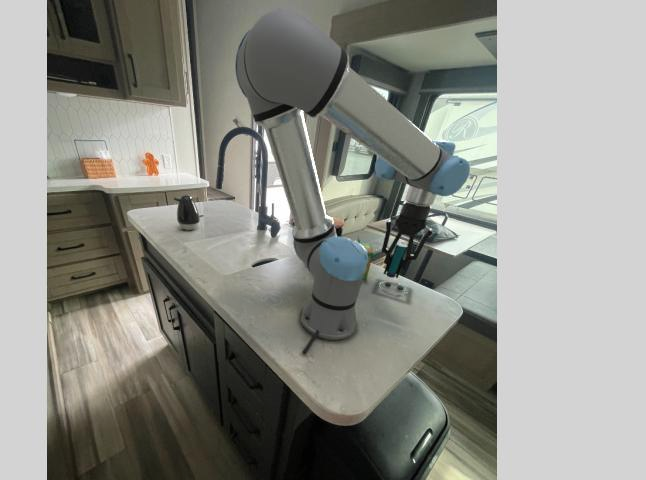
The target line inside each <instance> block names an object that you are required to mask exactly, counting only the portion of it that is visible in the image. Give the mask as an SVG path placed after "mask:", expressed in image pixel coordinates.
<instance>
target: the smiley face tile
mask: <svg viewBox="0 0 646 480" xmlns="http://www.w3.org/2000/svg"><path fill="white" fill-rule="evenodd" d="M386 282H389V283H393V284H396V285H398V286H402V287H404V290H406V293H404V294H402V295H401V294H392V293H389V292H387V291H386V290H385V289H383V288H382V286H381V285H382V284H385V283H386ZM378 287H379V288H380V290H381V291H382V292H384V293H386V294H387V295H391V296H394V297H405V296H407V295H408V293H409V290H408V288H407V287H406V286H404V285H402V284H400V283H399V282H396V281H391V280H389V281H388V280H384V281H381V282H380V283H379V284H378Z"/></svg>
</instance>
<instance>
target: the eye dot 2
mask: <svg viewBox="0 0 646 480" xmlns="http://www.w3.org/2000/svg"><path fill="white" fill-rule="evenodd" d="M404 287H405V286H404ZM404 287H403V285H402V286H401V285H397V286H396V289H397V290H399V291H404V290H405V288H404Z"/></svg>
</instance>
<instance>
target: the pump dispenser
mask: <svg viewBox="0 0 646 480" xmlns="http://www.w3.org/2000/svg"><path fill="white" fill-rule="evenodd" d="M173 201H176V202H178V204H177V209H176V221H177V223H178V225H179V227H181V228H182V229H183V230H186V231H192V230H195V229H197V228H198V227H199V224H200V221H201V220H200V219H201V218H200V214H199V210H198V207H197V205H196V203H195V201H194V199H193V198H192V196H190V195H188V194H183V195H182V196H181V197H180V198H178V197H173Z"/></svg>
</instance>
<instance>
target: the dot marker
mask: <svg viewBox="0 0 646 480" xmlns="http://www.w3.org/2000/svg"><path fill="white" fill-rule="evenodd" d="M407 248H408V244H405V243H401V242H397V244H396V246H395V248H394V249H393V252H392V254H393V256H392V259H391V261H390V264H389V267H388V270H387V272H386V276H387V277H388V278H391V279H393V278H396V274H397V272H398V269H399V266H400V264H401V261H402V259H403V257H405V255H406V252H407Z"/></svg>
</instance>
